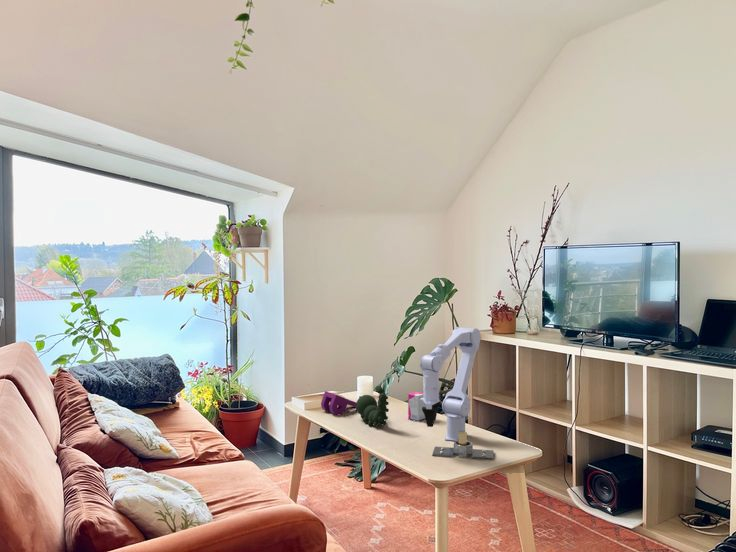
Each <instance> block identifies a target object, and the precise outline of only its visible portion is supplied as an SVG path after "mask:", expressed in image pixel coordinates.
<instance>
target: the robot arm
mask: <svg viewBox="0 0 736 552" xmlns="http://www.w3.org/2000/svg"><path fill="white" fill-rule="evenodd" d="M451 333H452V334H451V336H450V337H449V338H448V339H447V341H445V343H441V344H440V343H438V344H437V346H436V347H435V348H434V349H433V350H432V351H431V352H430V353H429V354H425V355H423V356H422V357H421V359H420V361H419V367H420V370H421V374H422V378H423V383H422V385H423V392H422V393H424V398H421V399H420V401H423V402H424V403H425V404H426V407H422V411H423V413H424V415H425V423H426V424H425V425H426V427H428V428H431V427H432V428H433V426H434V424H435V421H436V419H437V414H438V409H439V407H440V404H441V401H440V385H439V383H440V379H439V378H440V377H439V375H440V373H439V372H440V371H441V369H442V367H443V364H444V363H445V361H446V360H447V359H448V358H450V357H451V354H452V353H451V352H452V350H453V349H455V348H456V347H458V348H459V349H460V350H461V352H462V353H461V357H460V361H459V363H458V364H459V365H458V369H457V372H456V376H455V380H454V383H453V384H454V385H453V387H452V389H451V390H449V391H448V392H446V395H445V398H444V399H443V401H442V405H441V407H442V408H441V409H442V411H443V412H444V415H445V416H446V435H445V441H451V442H453V441H458V432H459V431H465V432H466V417H467V416H468V415H469V413H470V409H471V400H472V399H471V398H470V396H469V395H468V394H467V390H468V386H469V382H470V378H471V374H472V370H473V366H474V361H475V358H476V354H477V352H478V350H479V347H480V343H481V339H482V336H481V332H480V330H479V329H478V328H476V327H475V328H473V327H471V328H470V327H461V326H456V327H455V328H454V329H453V330H452V332H451Z"/></svg>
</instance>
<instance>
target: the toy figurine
mask: <svg viewBox="0 0 736 552" xmlns="http://www.w3.org/2000/svg"><path fill="white" fill-rule="evenodd" d="M374 390H375V391H376V392H377V393H378V400H376V399H375V397H374V396H372V395H370V394H363V395H359V396H358V399H357V400H356V407H355V409H356V412H357V413H358V415H360V418H361V419H362V420H363V422H364V423H366V424H367V425H368V426H369V427H372V426H374V427H378V426H379V425H382V426H386V425H387V420H389V416H387V413H388V412H389V411H390V409H389V408H387V406H388V405H390V403H389V401H387V400H388V399H389V396H388V395H387V394H386V393H385V392H384V388H383V387H382V386H381V385H376V386H375V388H374Z"/></svg>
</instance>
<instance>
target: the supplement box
mask: <svg viewBox="0 0 736 552" xmlns="http://www.w3.org/2000/svg"><path fill="white" fill-rule="evenodd" d="M407 396H408V397H407V398H408V399H407V403H408V404H407V406H408V407H407V408H408V409H407V416H408V417H407V418H408V420H409V419H410V421H413V420H415V421H414V422H417V421H419V422H422V421H424V420H423V419H425V415H424V413H423V411H422V407H426V404H425V403H424V402H423V401H420V399H421V398H424V392H419V391H414V392H411V393H408V394H407ZM421 420H422V421H421ZM425 420H426V419H425Z"/></svg>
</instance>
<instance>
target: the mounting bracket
mask: <svg viewBox="0 0 736 552" xmlns="http://www.w3.org/2000/svg"><path fill="white" fill-rule="evenodd" d="M320 402H321V403H320V405H321V409H322V410H323V411H325V412H327V413H331V415H335V416H339V415H338V414H341V415H343V414H344V413H346V409H347V407H348V406H350V407H353V408H356V403H357V401H356V402H355V401H354V400H352V399H348V398H346V397H343V396H342V395H341V396H340V395H338V394H335V393H332V392H328V391H326V390H325V391H324V394H323V395H322V399H321V401H320Z"/></svg>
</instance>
